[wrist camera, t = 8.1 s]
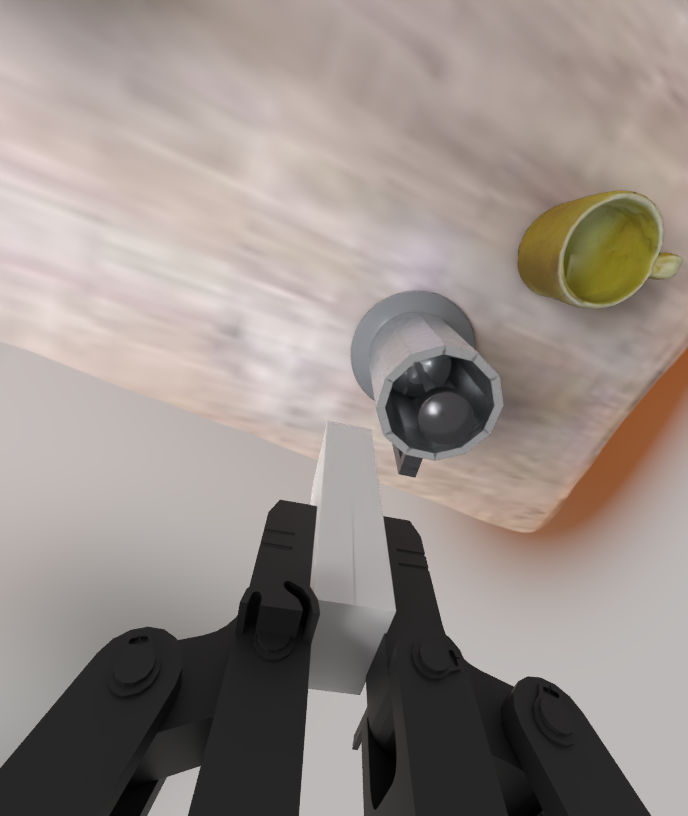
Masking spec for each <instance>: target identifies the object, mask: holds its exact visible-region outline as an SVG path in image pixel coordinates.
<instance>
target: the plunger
mask: <svg viewBox="0 0 688 816" xmlns="http://www.w3.org/2000/svg"><path fill="white" fill-rule="evenodd" d="M450 370H451V356H449V355H445V354H443V355H440V356H436V357H432V358H429V359H425V360H421V361H418V362H414V363H413V364H412V365H411V366H410V367H409V368H408V369H407V370H406V371H405V372H404V373H403V374H402V375H400V376H399V377H398V378H397V379H396V380H395V381H394V382H393V384H392V386H393V387H394V388H395V389H396V390H397V391H399V392H400V393H402V394H404V395H408V396H416V397H417V396H421V397H420V399H419V400H418V402H417V405H416V410H415V413H416V418H417V421H418V423H419V426H420V429H421V431H422V433H423V435H424V436H425V437H426V438H427V439H428V440H429V441H431V442H433V443H436V444H441V445H448V444H453V443H456V442H458V441H460V440H462V439H463V438H464V437H466V436H467V435H468V433H469V432H470V431H471V429H472V427H473V424H474V418H475V417H474V411H473V409H472V407H471V406H470V404H469V403H468V401H467V400H466V399H465V397H464V396H463V394H462V393H461V392H460V391H458V390H457V389H455V388H453V387H449V386H442V385H443V384H444V382H445V381H446V379H447V378H448V376H449V373H450Z"/></svg>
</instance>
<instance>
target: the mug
mask: <svg viewBox="0 0 688 816" xmlns="http://www.w3.org/2000/svg"><path fill="white" fill-rule="evenodd" d="M663 235H664V227H663V219H662V216H661V214H660V211H659V209H658V208H657V207H656V205H655V204H654V203H653V202H652V201H651V200H649V199H648V198H647V197H646V196H644V195H642V194H639V193H636V192H631V191H613V192H606V193H600V194H596V195H592V196H588V197H584V198H581V199H577V200H574V201H570V202H567V203H563V204H561V205H558V206H555V207H553V208H552V209H550V210H548V211H546V212H545V213H544V214H542V215H541V216H540V217H538V218H537V219H536V220H535V221H534V222H533V223H532V225H531V226H530V227H529V228H528V230H527V231H526V233H525V235H524V236H523V239H522V242H521V244H520V246H519V251H518V270H519V273H520V276H521V278H522V280H523V281H524V283H525V284H526V285H527V286H528V287H529V288H530V289H531V290H533V291H534V292H536V293H538V294H540V295H543V296H546V297H552V298H555V299H557V300H560V301H562V302H565V303H567V304H570V305H573V306H576V307H579V308H585V309H601V308H607V307H611V306H614V305H616V304H619V303H620V302H622V301H624V300H626V299H628V298H629V297H631V296H632V295H633V294H635V293H636V292H637V291H638V290H639V289H640V288H641V286H642V285H643V284H644V283H645V281H646V280H647V279H656V280H660V279H668V278H671V277H672V276H674V275H675V274H676V272H677V270H678V268H679V266H680V265H681V263H682V262H683V258H681V257H679V256H677V255H674V254H671V253H659V252H660V249H661V247H662V244H663Z"/></svg>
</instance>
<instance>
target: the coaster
mask: <svg viewBox="0 0 688 816" xmlns="http://www.w3.org/2000/svg"><path fill="white" fill-rule="evenodd" d="M407 312H424V313H428V314H431V315H434V316H436V317H439V318H441V319H442V320H443V321H444V322H445V323H446V324H447V325H449V326H450V327H451V328H452V329H453V330H454V331H455V332H456V333H457V334H458V335H459V336H461V337H462V338H463V339H464V340H465V341H466V342H467V343H468V344H469V345H470V346H471V347H472V348H474V349H475V339H474V334H473V330H472V328H471V325H470V323H469V321H468V319H467V317H466V316H465V315H464V313H463V312H462V311H461V310H460V309H459V308H458V307H457V306H456V305H455V304H454V303H452V302H451V301H449V300H448V299H446V298H444V297H442V296H440V295H438V294H435V293H431V292H426V291H406V292H402V293H398V294H395V295H392V296H390V297H388V298H386V299H384V300H382V301H381V302H379V303H378V304H376V305H375V306H374V307H373V308H372V309H371V310H370V311H368V313H367V314H366V315H365V316H364V317H363V319H362V320H361V322H360V323H359V325H358V327H357V329H356V331H355V334H354V337H353V341H352V346H351V363H352V368H353V372H354V375H355V378H356V380H357V382H358V384H359V385H360V387H361V388H362V389H363V391H364V392H365V393H366V394H367V395H368V396H369V397H370V398H372V399H373V400H374V401H375V399H374V393H373V386H372V380H371V373H370V367H369V361H368V358H369V354H370V347H371V344H372V341H373V339H374V337H375V335H376V333H377V332H378V330H379V329H380V328H381V327H382V326H383V325H384V324H385V323H386V322H387V321H389V320H390V319H392V318H393V317H395V316H397V315H400V314H403V313H407Z"/></svg>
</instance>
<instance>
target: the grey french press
mask: <svg viewBox="0 0 688 816" xmlns="http://www.w3.org/2000/svg"><path fill="white" fill-rule="evenodd" d="M443 354H445V355H449V356H451V370H450V373H449V376H448V378H447V379H446V381H445V382H444V384H443V385H442V386H449V387H453V388H455V389H457V390H458V391H460V392H461V393H462V394H463V396H464V397H465V399H466V400H467V401H468V403H469V404H470V406H471V407H472V409H473V411H474V417H475V418H474V424H473V427H472V429H471V431H470V432H469V433H468V435H467V436H466V437H464V438H463V439H462V440H460V441H458V442H456V443H453V444H448V445H441V444H436V443H433V442H431V441H429V440H428V439H427V438H426V437H425V436H424V435H423V433H422V431H421V429H420V426H419V423H418V421H417V418H416V413H415V410H416V405H417V402H418V400H419V399H420V397H421V396H417V397H416V396H408V395H404V394H402V393H400V392H399V391H397V390H396V389H395V388H394V387H393V386H392V384H393V382H394V381H395V380H396V379H397V378H398V377H399V376H400V375H402V374H403V373H404V372H405V371H406V370H407V369H408V368H409V367H410V366H411V365H412V364H413V363H414V362H418V361H421V360H425V359H429V358H432V357H436V356H440V355H443ZM368 361H369V367H370V373H371V380H372V386H373V393H374V399H375V405H376V410H377V414H378V417H379V421H380V424H381V428H382V431H383V435H384V436H385V437H386V438H387V439H388V440H389V441H390V442H392V444H393V449H394V454H395V459H396V464H397V468H398V473H399V474H401V475H406V476H410V477H416V474H417V472H418V469H419V467H420V464H421V461H422V459H423V458H424V459H429V460H433V461H436V460H440V459H444V458H449V457H453V456H457V455H461V454H465V453H467V452H468V451H469V450H471V449H472V448H473V447H474V446H476V445H477V444H478V443H480V442H481V441H482V440H483V439H485V438H486V437H487V436H489V435H490V434H491V432H492V430H493V428H494V425H495V423H496V421H497V419H498V417H499V415H500V412H501V410H502V408H503V406H504V405H503V397H502V389H501V382H500V376H499V375H498V373H497V372H496V371H495V370H494V369H493V368H492V367H491V366H490V365H489V364H488V363H487V362H486V361H485V360H484V358H483V357H482V356H481V355H480V354H479V353H478V352H477V351H476V350H475V349H474V348H472V347H471V346H470V345H469V344H468V343H467V342H466V341H465V340H464V339H463V338H462V337H461V336H459V335H458V334H457V333H456V332H455V331H454V330H453V329H452V328H451V327H450V326H449V325H447V324H446V323H445V322H444V321H443V320H442V319H441V318H439V317H436V316H434V315H431V314H428V313H424V312H407V313H403V314H400V315H397V316H395V317H393V318H392V319H390V320H389V321H387V322H386V323H385V324H384V325H383V326H382V327H381V328H380V329H379V330H378V332H377V333H376V335H375V337H374V339H373V341H372V344H371V347H370V354H369V358H368Z"/></svg>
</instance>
